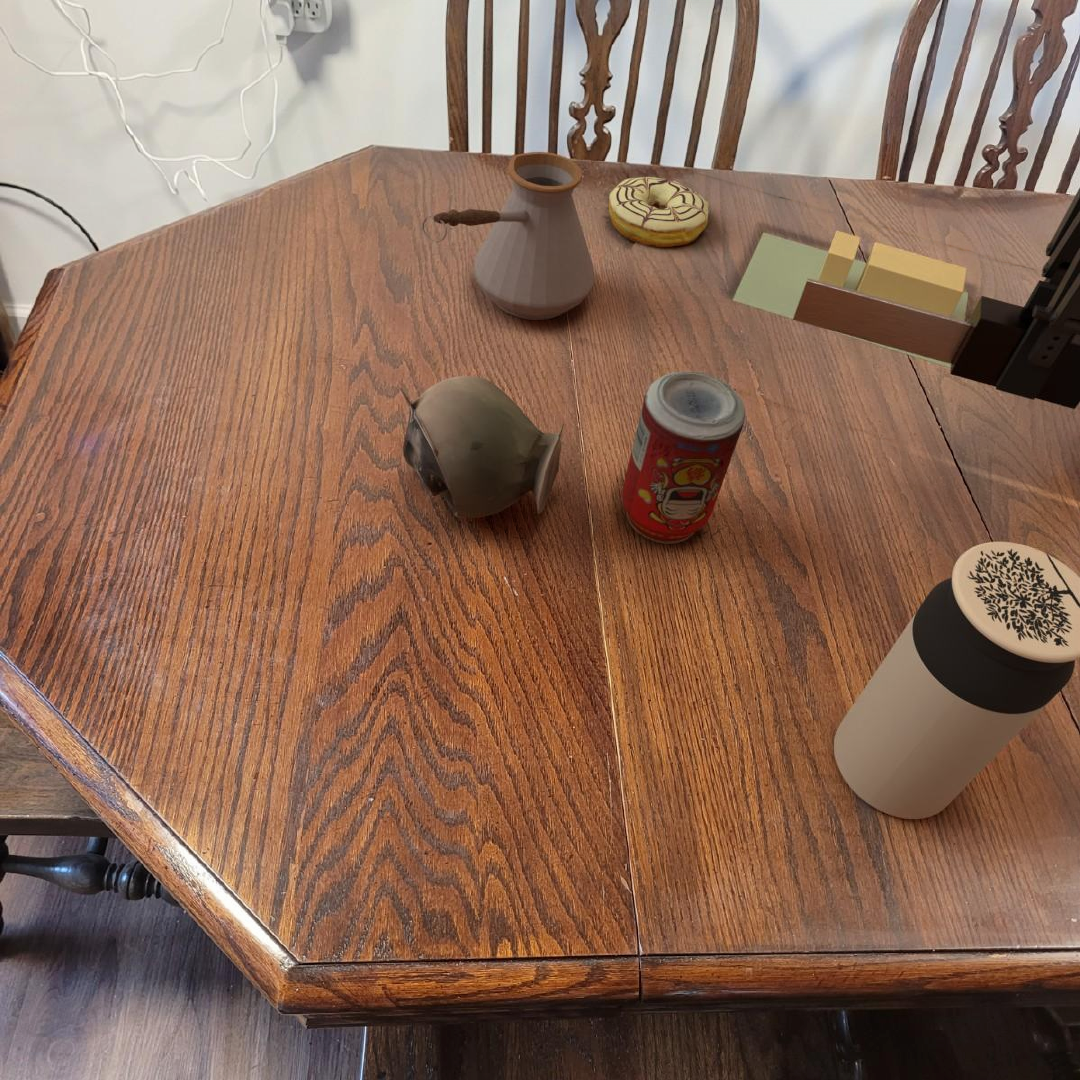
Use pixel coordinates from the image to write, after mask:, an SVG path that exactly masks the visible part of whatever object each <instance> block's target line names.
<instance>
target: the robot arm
mask: <svg viewBox="0 0 1080 1080" xmlns="http://www.w3.org/2000/svg"><path fill="white" fill-rule="evenodd" d="M1045 256H1046V257H1049V258H1048V259H1047V261H1046V262H1045V264H1044V265H1043V267H1042V270H1041V272H1042V273H1041V277H1042V278H1045V279H1044V280H1038V281H1037V284H1036V285H1035V287H1034V289H1033V291H1032V292H1031V293H1030V295H1029V297H1028V299H1027V301H1026V302H1025V304H1024V306H1023V307H1025V308H1029V309H1033V313H1032V317H1033V318H1034V320H1033V322H1032V323H1031V325H1030V327H1029V328H1028V330H1027V332H1026V334H1025V336H1024V337H1023V339H1022V341H1021V342H1020V344H1019V346H1018V347H1017V349H1016V351H1015V352H1014V354H1013V356H1012V357H1011V359H1010V361H1009V363H1008V364H1007V366H1006V368H1005V369H1004V371H1003V373H1002V374H1001V376H1000V378H999V379H998V381H997V383H996V387H995V390H996V391H1000V392H1004V393H1008V394H1011V395H1015V396H1017V397H1021V398H1024V399H1025V398H1026V399H1028V400H1033V401H1034V400H1035V399H1036V398H1035V397H1036V396H1037V394H1038V393H1039V391H1040V390H1041V388H1042V386H1043V385H1044V383H1045V382H1046V380H1047V379H1048V377H1049V376H1050V374H1051V373H1052V371H1053V369H1054V368H1055V366H1056V365H1057V363H1058V362H1059V360H1060V359H1061V357H1062V355H1063V354H1064V352H1065V351H1066V349H1067V348H1068V346H1069V345H1070V343H1071V342H1072V340H1073V338H1074V337H1075V335H1076V334H1077V335H1080V187H1079V188H1078V190H1077V191H1076V193H1075V195H1074V197H1073V199H1072V200H1071V203H1070V205H1069V206H1068V208H1067V210H1066V212H1065V214H1064V215H1063V217H1062V220H1061V221H1060V224H1059V225H1058V227H1057V229H1056V231H1055V232H1054V234H1053V236H1052V238H1051V240H1050V241H1049V242H1048V244H1047V245H1046V249H1045Z"/></svg>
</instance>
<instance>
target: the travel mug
mask: <svg viewBox="0 0 1080 1080" xmlns="http://www.w3.org/2000/svg"><path fill="white" fill-rule="evenodd" d="M951 573H952V574H951V577H949V578H946V579H944V580H942V581H940V582H939V583H937V584H936V585H935V586H933V588H932V589H931V590H930V591H929V593H928V594H927V595H926V597H925V598H924V600H923V601H922V603H921V604H920V606H919V607H918V609H917V610H916V612H915V613H914V615H913V616H912V617H911V619H910V621H909V622H908V624H907V625H906V626H905V628H904V629H903V631H902V633H901V634H900V635H899V637H898V638H897V640H896V641H895V642H894V644H893V645H892V647H891V648H890V650H889V651H888V653H887V655H886V656H885V657H884V659H883V660H882V662H881V663H880V665H879V666H878V668H877V669H876V671H875V672H874V673H873V674H872V676H871V678H870V680H869V681H868V682H867V684H866V686H864V688H863V690H862V691H861V693H860V694H859V696H858V697H857V699H856V700H855V702H854V703H853V704H852V706H851V707H850V709H849V710H848V712H847V713H846V714H845V716H844V718H843V719H842V721H841V722H840V724H839V725H838V727H837V729H836V732H835V735H834V740H833V753H834V758H835V762H836V765H837V768H838V769H839V772H840V774H841V776H842V777H843V779H844V781H845V783H846V784H847V785H848V786H849V788H850V789H851V790H852V791H853V792H854V794H856V796H858V797H859V798H860V799H861V800H863V801H864V802H865V803H867V804H868V805H870V806H871V807H873V808H874V809H876V810H878V811H879V812H882V813H885V814H887V815H890V816H892V817H896V818H900V819H906V820H919V819H925V818H930V817H933V816H935V815H937V814H939V813H940V812H942V811H943V810H944V809H946V808H947V807H948V806H949V805H950V804H951V802H953V801H954V800H955V799H956V798H957V797H958V796H959V795H960V794H961V792H963V790H965V788H966V787H967V786H968V785H969V784H970V783H971V782H972V781H973V780H975V778H976V777H977V776H978V775H979V774H980V773H981V772H983V770H985V768H986V767H987V766H988V765H989V764H990V763H991V762H992V761H993V760H994V759H995V758H996V757H997V756H998V755H999V754H1000V753H1001V752H1002V751H1003V749H1005V748H1006V747H1007V745H1009V743H1010V742H1011V741H1013V740H1014V739H1015V737H1016V736H1018V735H1019V734H1020V732H1022V730H1023V729H1024V728H1025V727H1026V726H1027V725H1028V724H1030V722H1031V721H1033V719H1034V718H1035V717H1036V716H1037V715H1038V714H1039V713H1041V711H1042V710H1043V709H1044V708H1045V707H1047V705H1048V704H1049V703H1050V702H1051V701H1052V700H1053V699H1054V698H1055V697H1056V696H1057V695H1058V694H1059V693H1060V692H1061V691H1062V689H1064V688H1065V687H1066V685H1067V684H1068V683H1069V682H1070V680H1071V679H1072V677H1073V674H1074V671H1075V666H1076V660H1079V659H1080V576H1079V575H1078V574H1077V573H1076V572H1075V571H1074V570H1073V569H1071V568H1070V567H1069V566H1068V565H1066V564H1065V563H1063V562H1062V561H1060V560H1059V559H1058V558H1056V557H1054V556H1052V555H1050V554H1048V553H1047V552H1044V551H1041V550H1039V549H1037V548H1034V547H1031V546H1030V545H1029V546H1028V545H1025V544H1021V543H1016V542H1011V541H1010V542H1009V541H990V542H989V541H988V542H984V543H980V544H977V545H974V546H972V547H970V548H968V549H967V550H965V551H964V552H963V553H962V554H961V555H960V556H959V558H958V559H957V560H956V562H955V564H954V566H953V569H952V572H951Z"/></svg>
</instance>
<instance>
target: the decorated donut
mask: <svg viewBox="0 0 1080 1080" xmlns="http://www.w3.org/2000/svg"><path fill="white" fill-rule="evenodd" d="M608 196H609V197H608V198H609V199H608V211H609V212H608V213H609V217H610V220H611V223H612V225H613V227H614V228H615V230H616V231H617V232H618V233H619V234H620V235H621V236H623V237H624V238H625V239H627V240H629V241H631V242H633V243H636V242H638V243H640V244H642V245H644V246H645V245H646V246H650V247H655V248H671V247H678V246H684V245H688V244H689V243H692V242H694V241H695V240H697V239H698V237H699V236H700V234H701V233H702V232H703V231H704V230H705V228H706V227H707V225H708V222H709V218H708V217H709V213H710V211H709V206H710V204H709V203H708V202H707V200H706V199H704V197H702V195H701V194H699V193H698V192H697V191H696V190H694V189H691V188H690V187H688V186H686V185H684V184H683V183H680V182H678V181H675V180H672V179H669V178H662V177H661V178H659V177H654V176H640V177H639V176H638V177H630V178H626V179H624V180H623V181H621V182H619V184H617V185H616V186H615V187H614V189H613V190H612V191H611V192H610V193H609V195H608Z"/></svg>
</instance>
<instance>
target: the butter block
mask: <svg viewBox="0 0 1080 1080" xmlns="http://www.w3.org/2000/svg"><path fill="white" fill-rule="evenodd" d="M867 258H868V259H867V261H866V265H865V268H864V270H863V272H862V275H861V277H860V280H859V282H858V285H857V288H856V291H857V292H861V293H864V294H868V295H872V296H875V297H879V298H883V299H886V300H890V301H894V302H897V303H901V304H905V305H908V306H912V307H916V308H919V309H923V310H926V311H930V312H934V313H937V314H941V315H945V316H948V317H951V315H952V313H953V311H954V309H955V307H956V305H957V303H958V301H959V299H960V297H961V295H962V293H963V291H964V290H965V289H964V288H965V283H966V276H967V271H968V269H967V267H963V266H960V265H956V264H953V263H950V262H946V261H944V260H943V261H942V260H939V259H936V258H933V257H929V256H926V255H922V254H919V253H914V252H912V251H908V250H905V249H901V248H898V247H895V246H891V245H888V244H884V243H880V242H878V241H875V242H874V243H873V246H872V249H871V251H870V253H869V256H868V257H867Z"/></svg>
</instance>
